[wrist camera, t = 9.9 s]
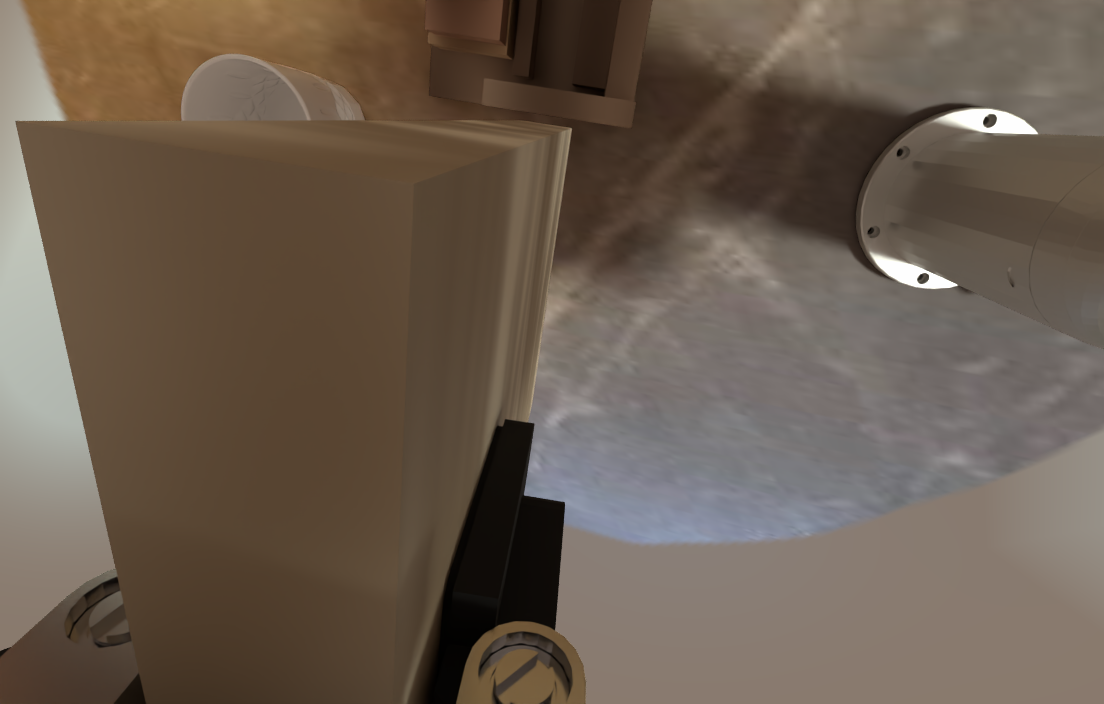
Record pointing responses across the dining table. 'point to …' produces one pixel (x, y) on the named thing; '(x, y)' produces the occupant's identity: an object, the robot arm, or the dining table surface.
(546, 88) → the walnut rack
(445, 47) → the offcut bundle
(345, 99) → the white cup
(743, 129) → the dining table surface
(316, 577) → the birch sheet
